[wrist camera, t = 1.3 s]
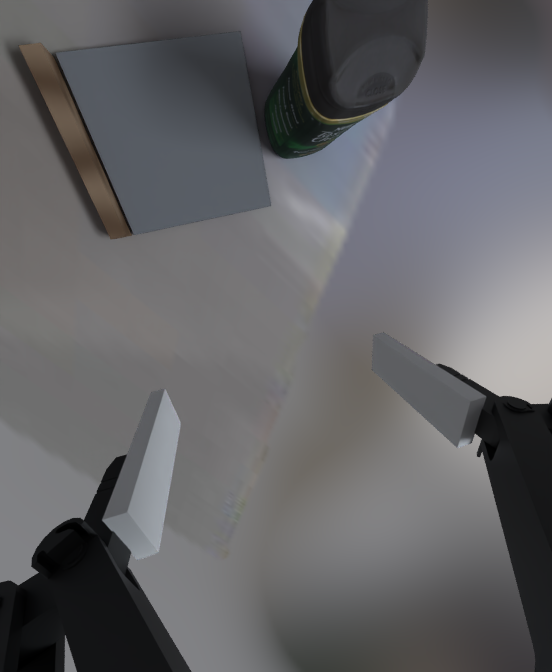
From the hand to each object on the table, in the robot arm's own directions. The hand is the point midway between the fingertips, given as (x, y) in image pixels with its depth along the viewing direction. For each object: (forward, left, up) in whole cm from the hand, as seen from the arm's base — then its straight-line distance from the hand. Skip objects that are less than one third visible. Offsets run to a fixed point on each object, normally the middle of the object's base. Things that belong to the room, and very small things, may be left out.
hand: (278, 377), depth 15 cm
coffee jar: (-19, +14, -29) cm, 37 cm away
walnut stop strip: (-19, -14, -28) cm, 37 cm away
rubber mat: (-19, -2, -28) cm, 34 cm away
